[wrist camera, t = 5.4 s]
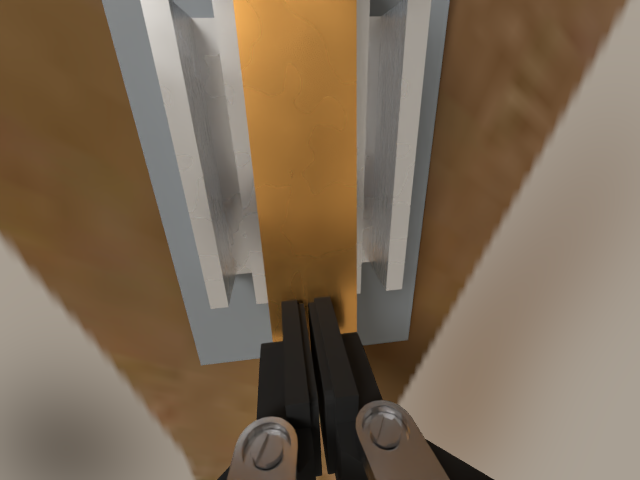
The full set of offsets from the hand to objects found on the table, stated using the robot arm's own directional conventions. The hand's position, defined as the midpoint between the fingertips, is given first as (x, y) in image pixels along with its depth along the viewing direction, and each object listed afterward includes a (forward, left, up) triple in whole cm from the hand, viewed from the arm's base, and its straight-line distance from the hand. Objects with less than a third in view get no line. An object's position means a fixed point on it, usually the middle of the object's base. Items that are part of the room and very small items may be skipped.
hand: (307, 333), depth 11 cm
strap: (-5, 0, -2) cm, 5 cm away
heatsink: (-5, 0, -6) cm, 8 cm away
